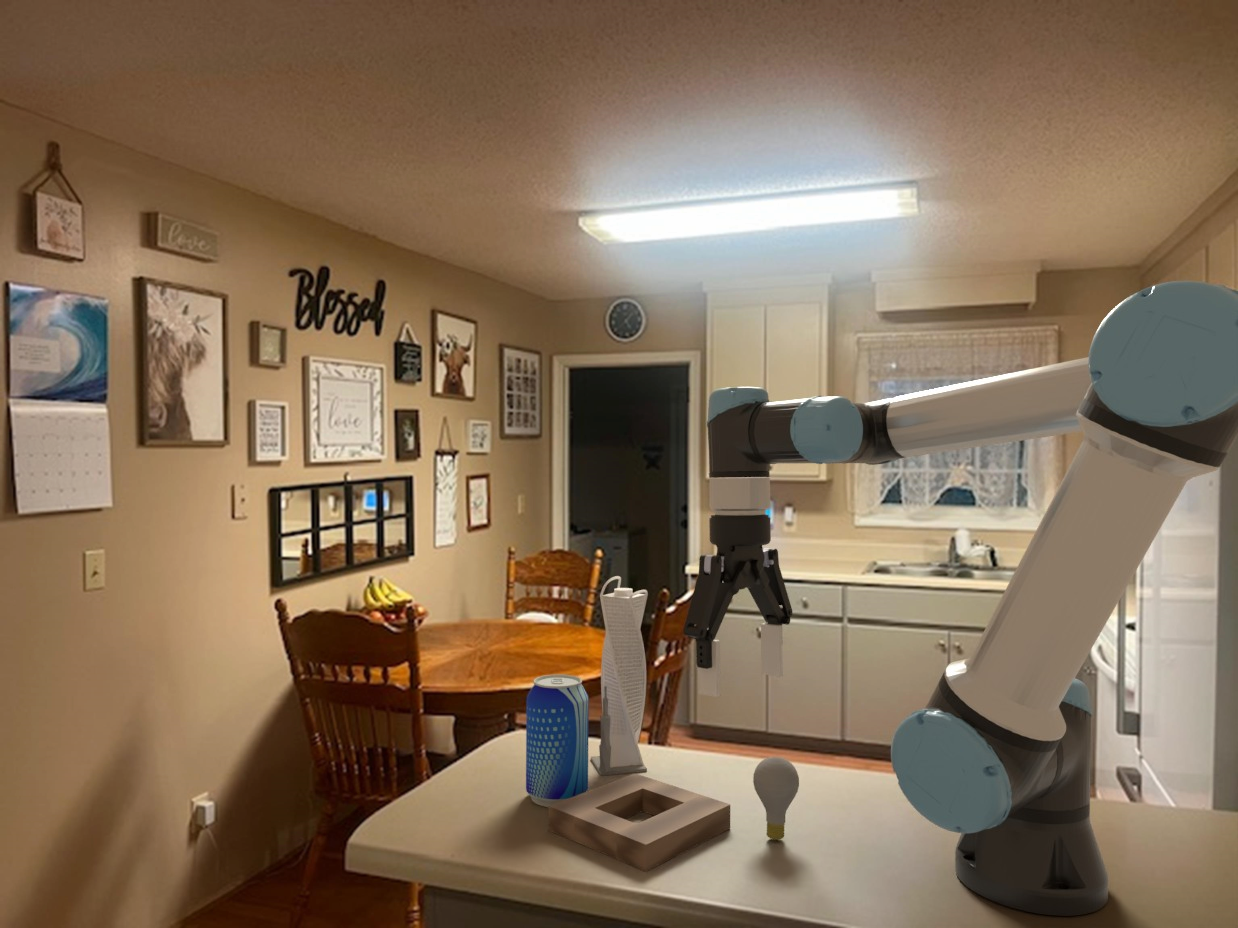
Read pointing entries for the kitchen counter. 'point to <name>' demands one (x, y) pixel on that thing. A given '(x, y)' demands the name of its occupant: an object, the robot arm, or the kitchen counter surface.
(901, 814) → the kitchen counter surface
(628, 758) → the skyscraper
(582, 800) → the holder
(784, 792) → the light bulb
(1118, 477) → the robot arm
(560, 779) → the beer can
